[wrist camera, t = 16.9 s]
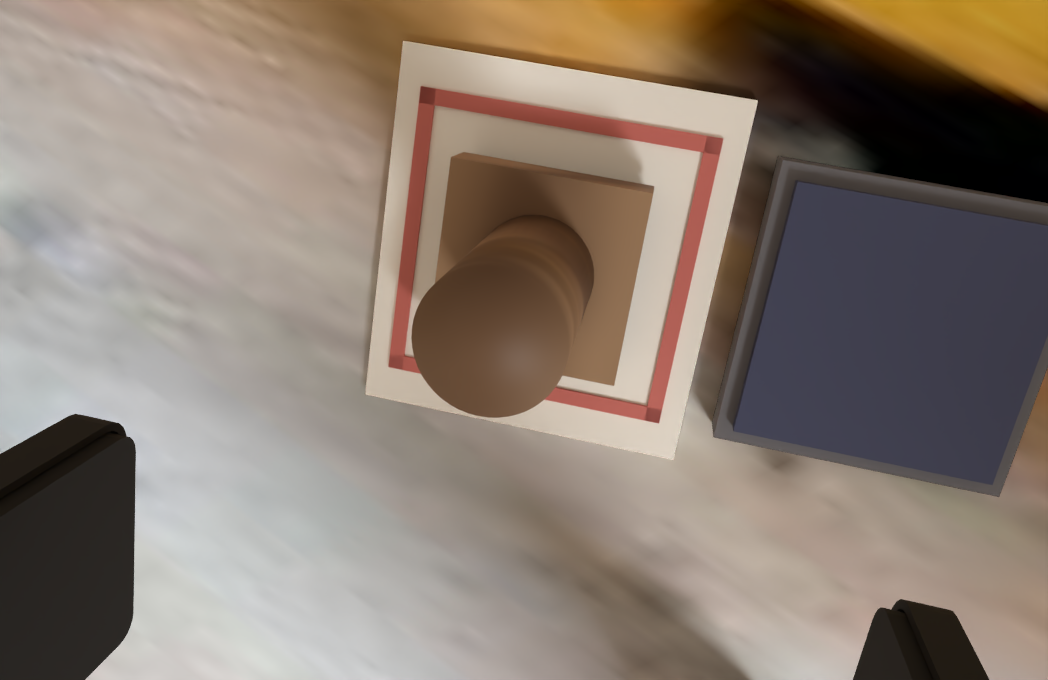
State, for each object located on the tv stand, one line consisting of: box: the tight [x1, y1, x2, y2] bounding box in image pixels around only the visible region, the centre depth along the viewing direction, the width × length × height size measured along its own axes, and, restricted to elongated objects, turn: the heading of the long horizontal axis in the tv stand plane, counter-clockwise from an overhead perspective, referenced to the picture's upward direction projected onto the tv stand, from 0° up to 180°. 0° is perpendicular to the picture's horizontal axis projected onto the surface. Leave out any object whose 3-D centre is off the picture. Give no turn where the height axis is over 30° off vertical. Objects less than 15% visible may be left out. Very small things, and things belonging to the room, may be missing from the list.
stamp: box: [411, 152, 654, 418], centre depth 24 cm, size 6×6×9 cm
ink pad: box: [712, 156, 1048, 497], centre depth 27 cm, size 9×9×2 cm
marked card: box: [365, 41, 758, 460], centre depth 28 cm, size 11×12×1 cm
